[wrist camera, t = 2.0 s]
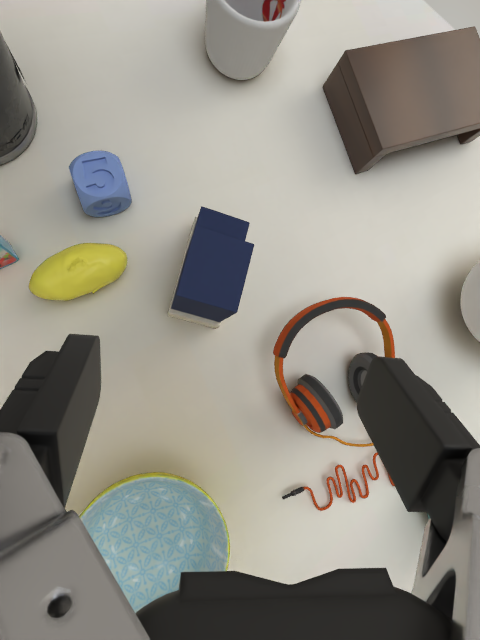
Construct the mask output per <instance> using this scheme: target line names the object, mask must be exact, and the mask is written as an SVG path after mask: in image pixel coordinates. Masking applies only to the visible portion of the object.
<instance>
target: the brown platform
mask: <svg viewBox="0 0 480 640" xmlns="http://www.w3.org/2000/svg"><path fill="white" fill-rule="evenodd" d="M323 89H324V92H325V94H326V97H327V100H328V102H329V105H330V108H331V110H332V113H333V116H334V118H335V121H336V123H337V126H338V129H339V131H340V134H341V137H342V139H343V142H344V145H345V147H346V150H347V153H348V155H349V158H350V161H351V163H352V166H353V169H354V171H355V174H357V173H361V172H365V171H368V170H369V169H370V168H371V167H372V166H374V165H375V164H376V163H377V162H378V161H379V160H380V159H382V158H383V157H384V156H385V155H386V154H387V153H391V152H395V151H398V150H402V149H406V148H409V147H413V146H417V145H420V144H424V143H428V142H431V141H435V140H439V139H442V138H446V137H450V136H453V135H457V136H458V138H459V141H460V143H461V144H464V143H467V142H471V141H473V140H474V139H476V138H477V137H478V136H480V38H479V35H478V33H477V30H476V28H475V27H469V28H464V29H459V30H453V31H448V32H442V33H437V34H432V35H426V36H421V37H416V38H410V39H405V40H400V41H394V42H389V43H384V44H378V45H373V46H368V47H362V48H357V49H351V50H346V51H345V52H344V54H343V55H342V57H341V58H340V60H339V62H338V63H337V65H336V66H335V68H334V69H333V71H332V73H331V74H330V76H329V77H328V79H327V81H326V82H325V84H324V85H323Z"/></svg>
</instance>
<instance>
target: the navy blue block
mask: <svg viewBox="0 0 480 640" xmlns="http://www.w3.org/2000/svg"><path fill="white" fill-rule="evenodd" d="M248 227H249V222H247V221H244V220H241V219H238V218H235V217H232V216H229V215H226V214H223V213H220V212H217V211H214V210H211V209H208V208H205V207H201V209H200V212H199V215H198V217H195V220H194V223H193V226H192V230H191V233H190V237H189V240H188V244H187V247H186V251H185V254H184V258H183V261H182V265H181V269H180V272H179V276H178V279H177V283H176V286H175V290H174V293H173V297H172V300H171V304H170V307H169V311H168V316H172V317H175V318H179V319H182V320H186V321H190V322H193V323H197V324H200V325H204V326H208V327H211V328H215V329H216V328H218V327H219V326H220V323H221V321H223V320H224V319H226V318H228V317H230V316H231V315H233V314H235V313H237V310H238V306H239V302H240V299H241V295H242V291H243V287H244V283H245V279H246V275H247V271H248V267H249V263H250V259H251V255H252V251H253V247H254V244H251V243H248V242H245V239H246V235H247V231H248Z"/></svg>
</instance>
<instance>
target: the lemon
mask: <svg viewBox="0 0 480 640" xmlns="http://www.w3.org/2000/svg"><path fill="white" fill-rule="evenodd" d="M126 265H127V256H126V253H125V252H124V251H123V250H121V249H120V248H118V247H116V246H114V245H109V244H98V243H83V244H78V245H74V246H71V247H69V248H67V249H64V250H63V251H61V252H59V253H57V254H55V255H53V256H51V257H49V258H48V259H47V260H45V261H44V262H43V263H42V264H41V265H40V266H39V267H38V268H37V269H36V270H35V271H34V273H33V275H32V277H31V279H30V283H29V290H30V291H31V292H32V293H33V294H34V295H36V296H38V297H40V298H43V299H48V300H65V301H67V300H72V299H74V298H77V297H79V296H82V295H85V294H88V293H90V292H92V293H93V294H94V293H95V292H96V291H97V290H98V289H100V288H101V287H103V286H105V285H107V284H110V283H112V282H113V281H115V280H116V279H118V278H119V277H120V276H121V274H122V273H123V272H124V270H125V268H126Z"/></svg>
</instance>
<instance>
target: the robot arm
mask: <svg viewBox="0 0 480 640" xmlns="http://www.w3.org/2000/svg"><path fill="white" fill-rule="evenodd" d="M14 62H15V63H14ZM15 64H16V65H17V63H16V61H15V59H14V57H13V56H12V54H11V52H10V50H9V48H8V46H7V44H6V42H5V41H4V38H3V36H2V34H1V32H0V165H1V164H4V163H7V162H9V161H11V160H13V159H14V158H16V157H17V156H19V155H20V154H21V153H22V152H23V151H24V150H25V149H26V148H27V147H28V145H29V144H30V142H31V141H32V139H33V137H34V134H35V131H36V125H37V114H36V109H35V105H34V103H33V100H32V98H31V96H30V94H29V92H28V90H27V88H26V86H25V85H24V83H23V81H22V79H21V76H20V74H19V72H18V69H19V67H18V65H17V67H18V69H17V67H16V65H15ZM19 71H20V69H19ZM20 73H21V71H20ZM21 75H22V73H21ZM22 77H23V75H22ZM23 79H24V77H23ZM100 391H101V359H100V339H99V336H93V335H79V334H69V335H68V336H67V338H66V340H65V342H64V344H63V346H62V347H61V349H60V351H59V352H56V351H45V352H44V353H42V354H41V355H40V356H38V357H37V358H35V359H34V360H33V361H31V362H30V363H29V365H28V367H27V368H26V370H25V371H24V373H23V375H22V378H20V379H19V381H18V383H17V384H16V386H15V389H14V390H13V391H12V392H11V394H10V395H9V397H8V399H7V400H6V402H5V403H4V405H3V407H2V408H1V410H0V640H480V445H479V444H478V443H477V442H476V440H475V439H474V438H473V437H472V435H471V434H470V433H469V432H468V430H467V429H466V428H465V427H464V426H463V424H462V423H461V422H460V421H459V419H458V418H457V417H456V416H455V414H454V413H451V410H450V408H449V407H448V406H447V405H446V403H445V402H442V399H441V397H440V396H439V395H438V394H437V392H436V391H435V390H434V389H433V387H431V386H430V385H429V384H427V383H426V382H425V381H423V380H422V379H421V378H419V377H418V376H416V375H415V374H414V373H413V372H412V370H411V369H410V368H409V367H408V365H407V364H406V363H405V361H404V360H402V359H400V358H389V357H375V358H374V359H373V360H372V361H371V363H370V366H369V369H368V371H367V374H366V377H365V379H364V382H363V385H362V387H361V390H360V392H359V395H358V399H357V410H358V414H359V417H360V419H361V421H362V423H363V425H364V427H365V429H366V431H367V433H368V435H369V437H370V439H371V440H372V442H373V444H374V446H375V448H376V450H377V452H378V454H379V456H380V458H381V460H382V462H383V464H384V466H385V468H386V470H387V472H388V474H389V476H390V478H391V480H392V482H393V484H394V486H395V487H396V489H397V491H398V493H399V495H400V497H401V499H402V501H403V503H404V505H405V507H406V509H407V511H408V512H427V513H428V515H429V517H430V519H429V520H428V522H427V524H426V526H425V530H424V535H423V540H422V545H421V550H420V555H419V561H418V566H417V571H416V576H415V581H414V586H413V589H412V592H411V593H409V592H406V591H404V590H401V589H399V588H396V587H393V585H392V582H391V580H390V577H389V575H388V572H387V570H386V568H361V569H337V570H334V571H331V572H328V573H326V574H323V575H320V576H317V577H314V578H311V579H308V580H305V581H302V582H300V583H297V584H293V585H288V584H283V583H279V582H275V581H271V580H267V579H264V578H260V577H256V576H252V575H248V574H244V573H240V572H237V571H208V572H181V575H180V583H179V590H177V591H174V592H171V593H168V594H165V595H163V596H161V597H159V598H157V599H155V600H153V601H152V602H150V603H149V604H147V605H146V606H144V607H142V608H141V609H140V610H139V611H137V612H136V613H135V612H134V610H133V608H132V607H131V605H130V603H129V602H128V600H127V598H126V596H125V595H124V593H123V591H122V589H121V588H120V586H119V584H118V583H117V581H116V579H115V577H114V576H113V574H112V572H111V570H110V569H109V567H108V565H107V564H106V562H105V560H104V558H103V557H102V555H101V553H100V551H99V550H98V548H97V546H96V545H95V543H94V541H93V539H92V538H91V536H90V534H89V532H88V531H87V529H86V527H85V526H84V524H83V522H82V520H81V519H80V517H79V516H78V515H77V513H76V512H75V511H73V510H70V511H68V512H67V511H66V510H65V505H66V502H67V499H68V496H69V493H70V490H71V487H72V484H73V480H74V477H75V474H76V471H77V468H78V465H79V462H80V459H81V455H82V452H83V449H84V446H85V443H86V440H87V437H88V434H89V431H90V427H91V424H92V421H93V418H94V415H95V412H96V409H97V406H98V402H99V397H100Z"/></svg>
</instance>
